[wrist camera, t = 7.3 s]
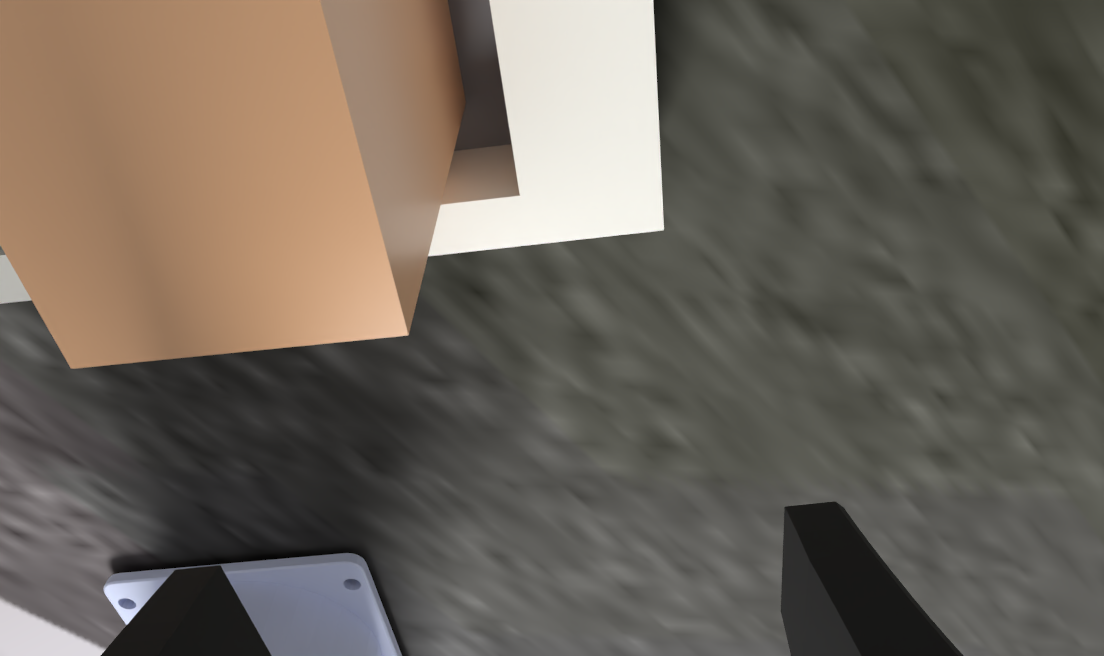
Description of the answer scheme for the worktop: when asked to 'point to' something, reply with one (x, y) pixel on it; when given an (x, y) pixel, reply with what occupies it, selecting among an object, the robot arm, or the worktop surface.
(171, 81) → the plug
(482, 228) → the white compartment tray
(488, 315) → the worktop surface
